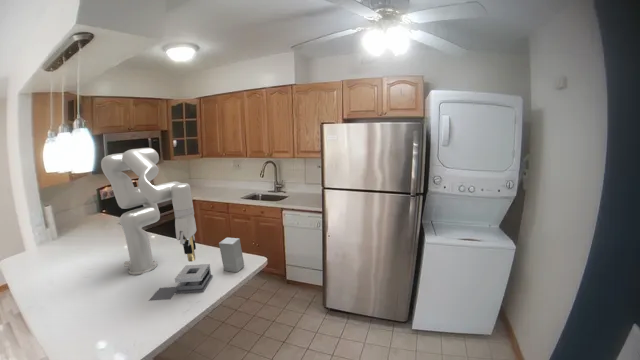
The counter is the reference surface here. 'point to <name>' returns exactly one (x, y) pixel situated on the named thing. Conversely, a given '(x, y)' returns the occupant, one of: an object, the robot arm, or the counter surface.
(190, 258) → the pin
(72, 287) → the counter surface
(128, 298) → the counter surface
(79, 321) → the counter surface
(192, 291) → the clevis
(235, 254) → the skincare box
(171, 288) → the mat
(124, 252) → the counter surface
